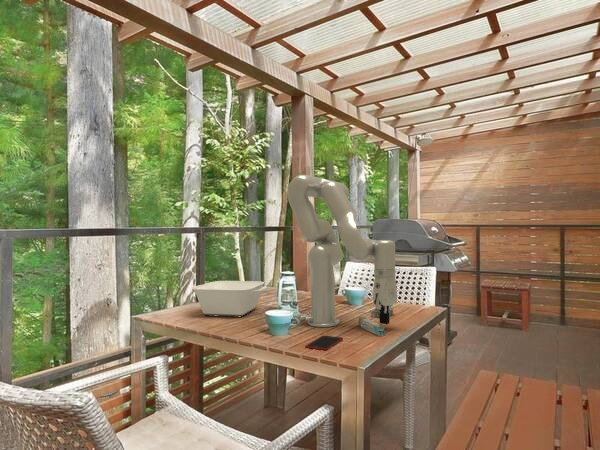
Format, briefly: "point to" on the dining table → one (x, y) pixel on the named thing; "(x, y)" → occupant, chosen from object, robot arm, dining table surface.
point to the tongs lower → (378, 333)
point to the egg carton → (376, 313)
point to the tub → (229, 297)
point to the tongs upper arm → (373, 325)
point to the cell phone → (324, 343)
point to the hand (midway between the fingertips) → (384, 323)
